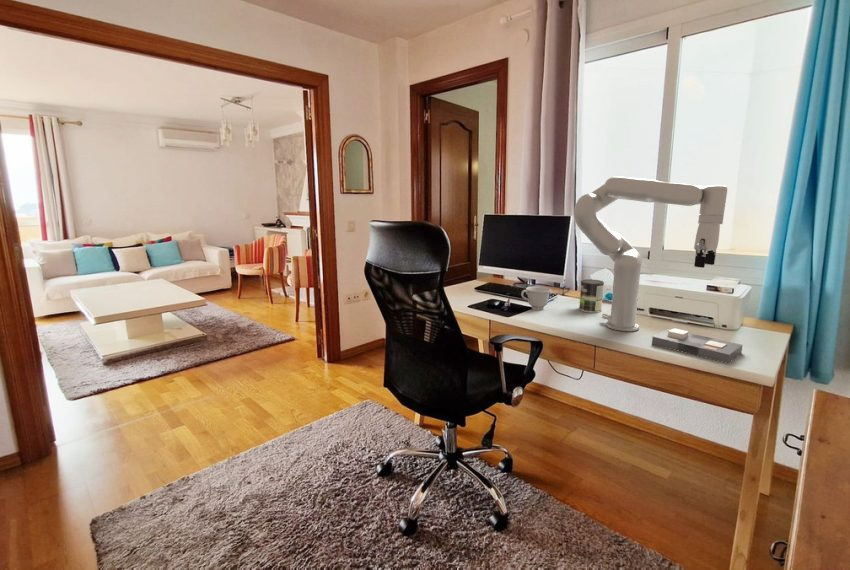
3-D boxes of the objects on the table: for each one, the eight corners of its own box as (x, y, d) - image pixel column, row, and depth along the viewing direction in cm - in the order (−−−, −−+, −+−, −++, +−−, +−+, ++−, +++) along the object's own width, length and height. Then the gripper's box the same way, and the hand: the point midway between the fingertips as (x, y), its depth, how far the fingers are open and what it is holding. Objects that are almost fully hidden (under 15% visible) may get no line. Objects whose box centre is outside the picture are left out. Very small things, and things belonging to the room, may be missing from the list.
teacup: (515, 306, 210) (516, 287, 208) (542, 304, 213) (543, 285, 211) (526, 313, 199) (527, 292, 197) (555, 310, 202) (556, 290, 200)
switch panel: (651, 344, 156) (652, 336, 155) (667, 336, 164) (668, 328, 164) (728, 363, 137) (729, 354, 137) (741, 352, 146) (742, 344, 145)
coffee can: (584, 313, 197) (586, 283, 194) (575, 307, 208) (577, 279, 205) (605, 312, 198) (608, 283, 195) (596, 306, 208) (598, 279, 205)
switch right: (703, 351, 146) (704, 343, 146) (708, 348, 150) (710, 340, 149) (720, 355, 143) (721, 347, 142) (725, 352, 146) (726, 344, 145)
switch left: (667, 338, 155) (668, 331, 155) (673, 335, 158) (673, 328, 158) (682, 341, 151) (683, 334, 151) (687, 338, 155) (688, 331, 154)
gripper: (707, 218, 162) (701, 262, 166) (689, 220, 152) (683, 266, 155) (730, 219, 156) (723, 264, 160) (713, 221, 146) (706, 269, 150)
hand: (704, 265), depth 158 cm, fingers open, 9 cm apart
